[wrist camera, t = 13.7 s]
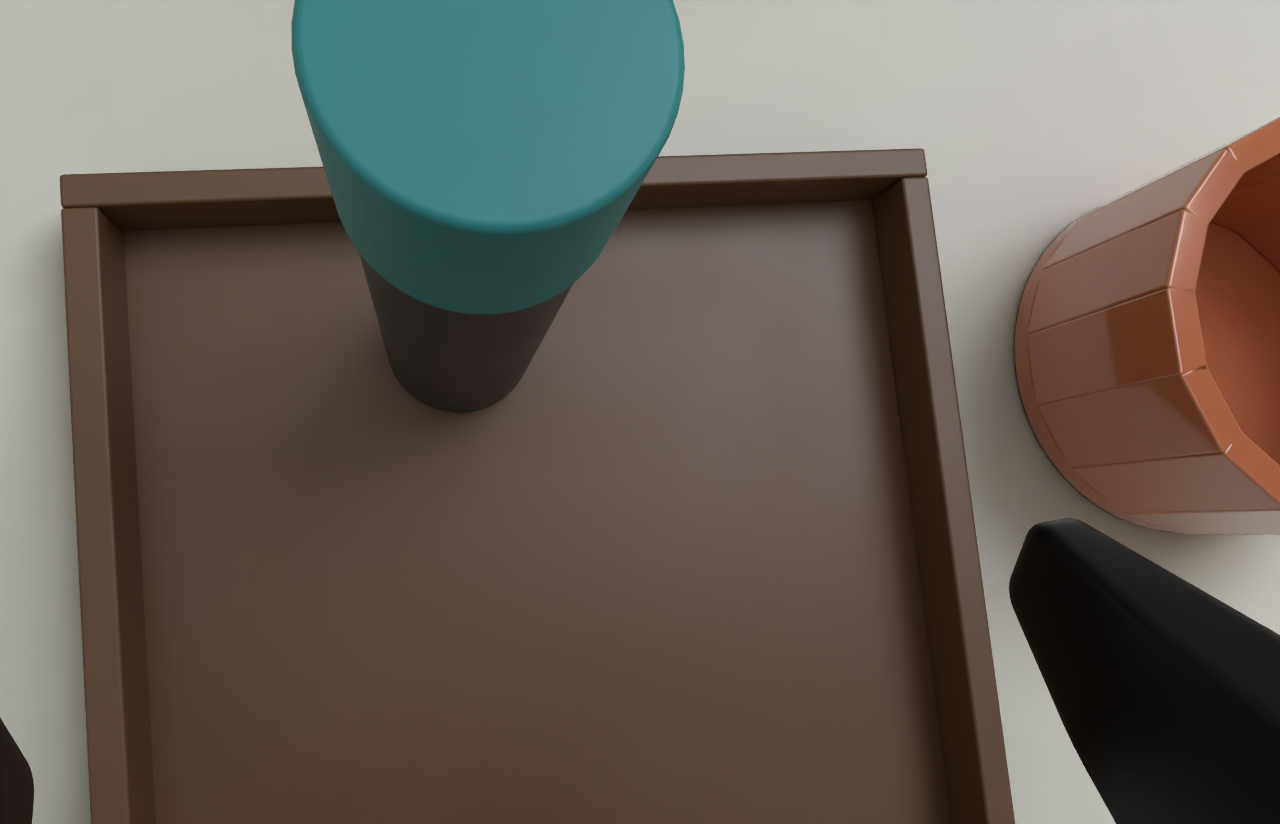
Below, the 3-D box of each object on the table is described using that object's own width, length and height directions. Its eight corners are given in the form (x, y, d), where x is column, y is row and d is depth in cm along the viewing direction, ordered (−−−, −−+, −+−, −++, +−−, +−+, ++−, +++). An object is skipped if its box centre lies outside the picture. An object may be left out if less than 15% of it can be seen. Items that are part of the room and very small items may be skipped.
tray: (977, 886, 21) (1029, 920, 19) (138, 1050, 18) (103, 1111, 16) (885, 178, 23) (925, 147, 21) (94, 207, 19) (57, 172, 17)
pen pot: (1335, 513, 24) (1567, 508, 19) (1039, 549, 22) (1208, 554, 17) (1281, 192, 25) (1489, 108, 20) (990, 204, 23) (1139, 116, 18)
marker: (565, 362, 20) (760, 104, 8) (440, 448, 20) (445, 309, 7) (478, 238, 20) (542, -208, 8) (349, 321, 20) (205, -30, 7)
